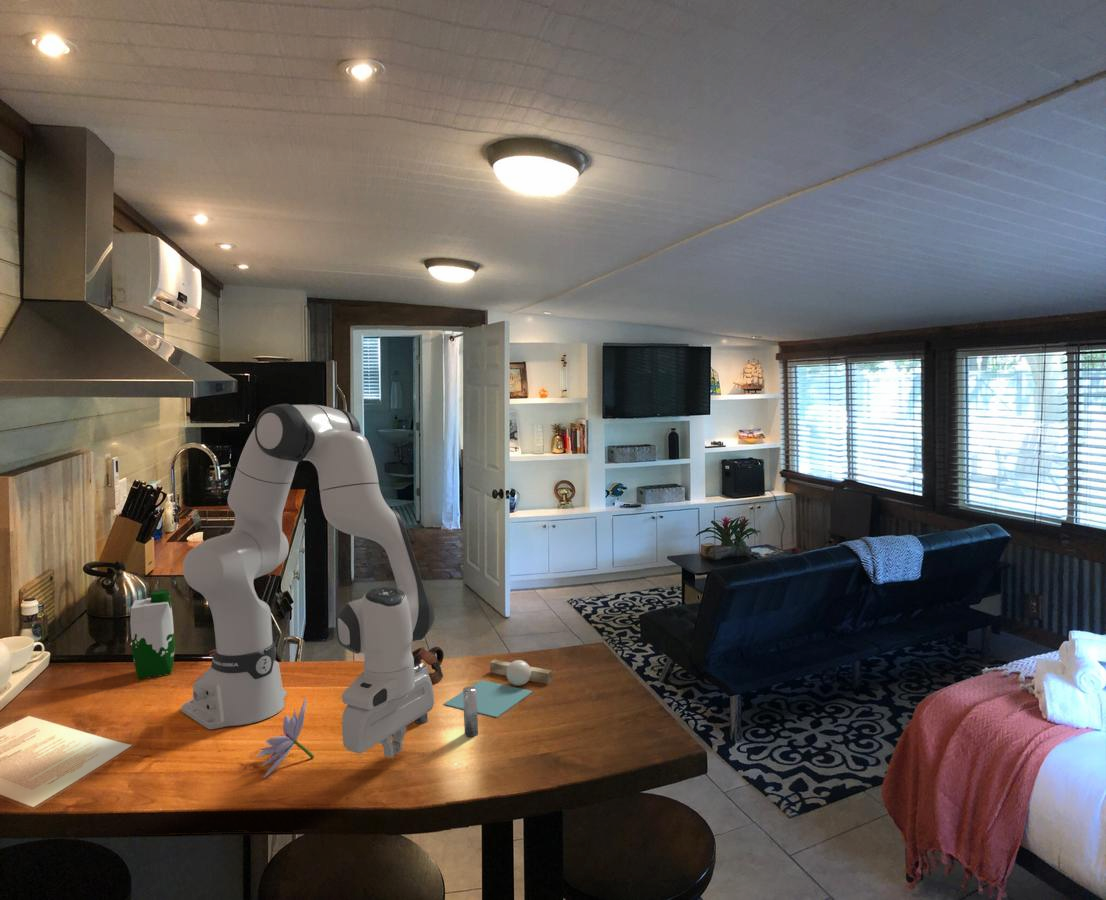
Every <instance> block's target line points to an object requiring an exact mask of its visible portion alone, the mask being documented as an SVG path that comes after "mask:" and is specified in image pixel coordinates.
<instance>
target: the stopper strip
mask: <svg viewBox="0 0 1106 900" xmlns="http://www.w3.org/2000/svg"><path fill="white" fill-rule="evenodd" d="M511 663H512V662H510V661H509V662H508V661H505V660H498V659H493V660H491V661H490V662H489V672H490V673H491V674H496V675H501V676H506V677H507V674H506V672H507V668H508V666H509V665H510V664H511ZM529 667H530V669H531V676H530V679H529V681H528V682H534V683H538V684H545V685H549V684H551V683H552V682H553V670H552V669H545V668H540V667H537V666H536V667H535V666H530V665H529Z"/></svg>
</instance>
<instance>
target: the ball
mask: <svg viewBox="0 0 1106 900" xmlns="http://www.w3.org/2000/svg"><path fill="white" fill-rule="evenodd" d="M510 663H511V664H510V665H509V666H508V668H507V672H506V674H507V676H506V679H507V681H508V682H509V683H510V684H511V685H513V686H515V687H516V686H517V687H520V686H524V685H526V684H527V683H528V682H530V681H529V679H530V676H531V669H530V667H529V666H530V665H529V664H528V663H527V662H526V661H524V660H521V659H517V660H513V661H512V662H510Z"/></svg>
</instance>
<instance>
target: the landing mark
mask: <svg viewBox="0 0 1106 900" xmlns="http://www.w3.org/2000/svg"><path fill="white" fill-rule="evenodd" d="M470 687H475V688H476V692H477V714H480V715H485V716H488V717H491V718H492V717H493V718H496V719H497V718H499V717H501V716H502V715H503V714H504V713H506V712H508V711H509V710H510V709H511V708H513V707H515V706H517V704H519V703H521V701H523V700H524V699H525V698H527V697H528V696H530V695H531V694H532V693H533V692H534V691H533V690H530V689H525V688H521V687H516V686H512V685H511V686H510V685H506V684H502V683H496V682H492V681H488V680H483V679H481V680H479V681H478V682H476V683H474V684H473V685H471V686H470ZM443 705H444V706H447V707H450V708H451V707H452V708H456V709H460V710H463V711H464V704H463V691H461V692H460V693H459V694H457V695H455V696H453V697H452V698H450V699H449V700H447V701H446V702H444V703H443Z"/></svg>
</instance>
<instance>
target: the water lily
mask: <svg viewBox="0 0 1106 900" xmlns="http://www.w3.org/2000/svg"><path fill="white" fill-rule="evenodd" d="M306 709H307V697H304V700H303V702H302V706H301V707H300V712H299V714H298V715H297V712H296V709H294V711H293V714H292V717H291V718H290V717H289V716H288V715H285V716H284V718H283V724H282V729H283V734H280V735H279V736H275V737H270V738H268V739H267V740H265V741H264V742H265V744H266V745H269V746H267V747H262V748H260V749H259V751H260V752H259V753H258V754H257V755H256V757H265V756H270V755H272V756H271V757H269V758H268V759H267V760H266V761H265V762H264V763H263V764H262V765H261V767H264V766H267V765H268V764H270V763H272V762H273V764H272V765H270V767H269V768H268V770H267V771H266V773H265V774H264V776H263V777H264V778H263V780H264V779H266V778H267V777H268V776H269V775H270V774H271V773H272V772H273V771H275V769H277V768H278V766H279V765H280V764H281V763H283V760H285V758H286V757H287V755H288V754H289V753H290V752H291V750H292V748H293V746H294V745H295V746H297V747H298V748H300V749H301V750H302V751H303V752H304V753H305V754H306V755H308V756H309V758H310V759H314V757H315V755H314V754H313V753H312V752H311V751H310V750H309V749H307V747H305V746H304V745H303V744H301V743H300V742H299V741H298V740H297V739H298V737H299V736H300V733H301V731H302V729H303V726H304V723H305V713H306Z"/></svg>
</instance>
